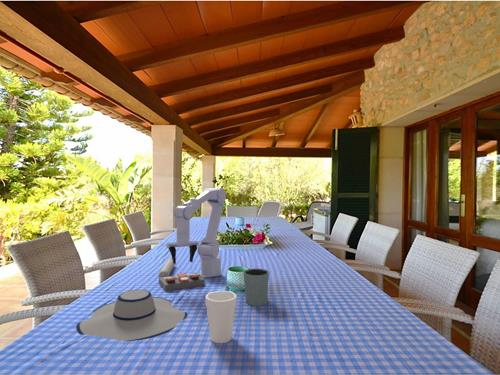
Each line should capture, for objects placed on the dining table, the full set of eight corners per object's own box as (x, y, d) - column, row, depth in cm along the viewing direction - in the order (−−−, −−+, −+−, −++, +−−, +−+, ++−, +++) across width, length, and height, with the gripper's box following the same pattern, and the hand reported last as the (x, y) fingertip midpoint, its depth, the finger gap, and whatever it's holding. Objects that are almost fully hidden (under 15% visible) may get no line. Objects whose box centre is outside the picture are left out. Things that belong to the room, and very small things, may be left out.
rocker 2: (185, 274, 158) (185, 272, 158) (188, 281, 153) (189, 279, 152) (177, 275, 156) (177, 273, 156) (180, 282, 151) (181, 280, 151)
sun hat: (94, 304, 134) (94, 281, 134) (187, 298, 140) (187, 276, 140) (59, 349, 99) (59, 317, 98) (186, 339, 105) (186, 310, 104)
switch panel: (196, 278, 166) (196, 271, 166) (204, 285, 155) (204, 278, 155) (158, 283, 158) (158, 276, 158) (165, 290, 147) (165, 283, 147)
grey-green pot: (250, 308, 128) (250, 276, 128) (239, 299, 137) (239, 270, 136) (273, 303, 133) (273, 273, 132) (261, 295, 142) (261, 267, 141)
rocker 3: (196, 276, 160) (196, 274, 160) (200, 276, 155) (200, 274, 155) (189, 277, 159) (189, 274, 159) (193, 277, 153) (192, 275, 154)
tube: (170, 272, 163) (177, 259, 187) (159, 269, 162) (167, 256, 187) (166, 283, 163) (174, 268, 188) (155, 279, 162) (164, 265, 187)
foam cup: (206, 331, 109) (206, 291, 108) (235, 330, 109) (235, 290, 109) (205, 346, 99) (204, 302, 99) (236, 345, 100) (236, 301, 99)
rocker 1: (173, 279, 155) (173, 277, 155) (176, 279, 150) (176, 277, 150) (165, 280, 154) (165, 278, 154) (168, 280, 148) (168, 278, 148)
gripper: (169, 234, 147) (168, 266, 147) (201, 232, 154) (201, 262, 154) (165, 232, 153) (165, 262, 154) (196, 230, 160) (196, 259, 160)
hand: (182, 262), depth 154 cm, fingers open, 7 cm apart
